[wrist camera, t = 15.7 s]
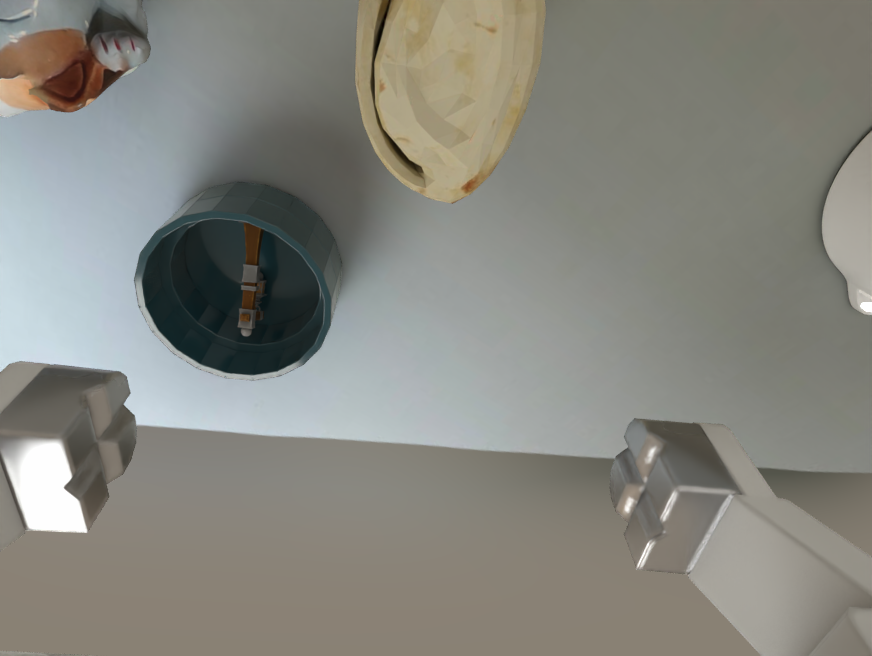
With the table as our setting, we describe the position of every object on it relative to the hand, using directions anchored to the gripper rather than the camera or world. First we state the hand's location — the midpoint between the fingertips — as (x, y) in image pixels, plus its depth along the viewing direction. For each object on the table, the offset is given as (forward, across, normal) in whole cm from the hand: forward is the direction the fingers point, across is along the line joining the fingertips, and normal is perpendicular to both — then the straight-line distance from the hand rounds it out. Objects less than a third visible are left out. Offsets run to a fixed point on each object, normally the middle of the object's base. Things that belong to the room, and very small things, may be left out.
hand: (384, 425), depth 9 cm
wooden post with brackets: (+31, +9, +13) cm, 35 cm away
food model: (+31, -1, -4) cm, 32 cm away
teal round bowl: (+31, +10, +13) cm, 35 cm away
